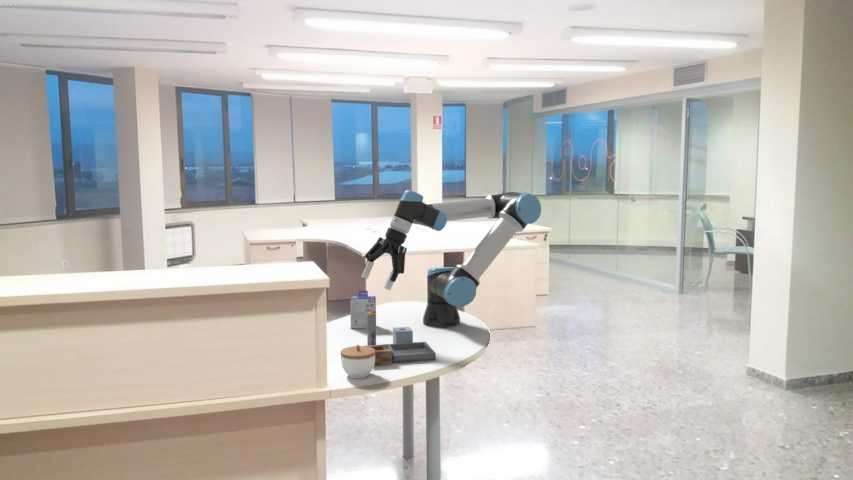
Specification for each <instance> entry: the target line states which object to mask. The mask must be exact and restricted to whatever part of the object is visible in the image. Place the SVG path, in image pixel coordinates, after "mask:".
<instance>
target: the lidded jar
mask: <svg viewBox="0 0 853 480" xmlns="http://www.w3.org/2000/svg"><path fill="white" fill-rule="evenodd" d="M367 346H368V345H359V344H358V345H357V344H356V345H355V346H354V345H353V346H348V347H345V348H343V349H341V350H340V358H341V359H340V360H341V367H342V369H343V371H344V372H345V374H346V375H348V377H349V378H352V379H364V378H367V377H368V376H369V374H370V373H371V372H372V371H373V369H374V368H375V366H374V364H375V354H376V350H375V349H374V348H371V347H367Z"/></svg>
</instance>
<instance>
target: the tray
mask: <svg viewBox="0 0 853 480" xmlns="http://www.w3.org/2000/svg"><path fill="white" fill-rule="evenodd" d="M386 344H387V345H388V346H389V348H390V349H391V351H392V362H393V364H399V363H400V364H402V363H414V362H415V363H416V362H429V361H436V358H437V357H436V354H437V353H436V352H435V350H434V349H433V348H432V347H431V346H430V345H429V344H428V342H427V341H418V342H417V341H415V342H414V341H413V342H412V343H397V344H393V343H386Z"/></svg>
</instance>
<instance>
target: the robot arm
mask: <svg viewBox="0 0 853 480" xmlns="http://www.w3.org/2000/svg"><path fill="white" fill-rule="evenodd" d="M423 201H424V196H423V195H422V194H420V193H418V192H416V191H413V190H410V189H406V190H405V191H404V192H403V194H402V196H401V197H400V200H399V201H398V202H399V203H398V205H397V208H396V210H395V212H394V215H393V216H392V219H391V222H390V223H389V227H388V228H387V231H386V233H385V234H384V235H385V236H384V237H385V239H384V238H383V237H380V236H379V237H378V238H377V241H376V242H375V243H374V244H373V246H371V248H370V249H369V250H368V251H367V252H366V253H365V255H364V258H365V259H366V263H365V265H364V267H363V271H362V274H361V278H363V279H366V280H368V279H369V276H370V274H371V271H372V270H373V267H374V265H375V261H376V260H377V259H380V257H382V256H383V255H384V254H387V255H390V256H391V263H392V265H391V266H392V269H391V271H390V273H389V275H388V278H387V279H386V282H385V284H384V287H383V289H386V290H388V291H391V289H392V287H393V285H394V283H395V282H396V280H397V279H398V276H399V275H400V274H401V275H402V274H405V264H406V253H407V251H408V250H407V249H408V248H407V247H405V246H403V244H405V242H406V239H407V237H408V236H407V234H409V233H410V230H411V228H412V226H413V224H414V225H420V226H424V227H427V228H430V229H431V230H433V231H436V232H440V231H442V230H444V228H445V227H446V224H447V222H451V221H459V220H469V219H479V218H488V220H489V219H490V220H493V219H498V220H497V221H496V222H495V224H494V225H493V226H491V228H490V229H489V231H488V232H487V233H486V235H484V237H483V238H482V240H480V242H479V243H478V244H477V246H476V247H475V248H474V249H473V250H472V251H471V253H470V254H469V255H468V257H467V258H466V259H465V260H464V262H463V263H462V264H461V263H460V264H456V265H455V266H442V267H440V266H439V267H431V268H429V269H428V270H427V275H426V280H427V281H426V283H427V284H426V286H427V287H426V290H427V292H426V293H427V298H426V299H427V303H426V308H425V311H424V314H423V317H422V323H423V325H425V326H429V327H434V328H452V327H456V326H459V325H460V323H461V317H460V313H459V311H458V307H460V308H461V307H466V306H468V305H469V304H471V303H472V302H473V301H474V299H475V298H476V295H477V288H478V287H479V286H480V284H481V283H480V278H481V276H482V275H483V274H484V273H485V272H486V271H487V270H488V268H489V267H490V265H491V264H492V263H493V261H495V260H496V258H497V257H498V255H499V254H500V253H501V252H502V251H503V250H504V248H505V247H506V246H507V244H508V243H509V242H510V241H511V239H512V238H513V237H514V236H515V234H516V233H520V232H523V231H524V230H525V228H526V227H527V225H528V224H529V225H530V224H533V223H536V222H537V221H538V219H540V216H541V213H542V205H541V201H540V199H539V198H538V197H537V196H536V195H534V194H531V193H529V192H515V191H508V192H503V193H498V194H490V195H486V197H485V198H477V199H476V198H474V199H467V200H456V201H445V202H437V203H429V204H427V203H425V202H423Z"/></svg>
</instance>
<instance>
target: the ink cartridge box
mask: <svg viewBox="0 0 853 480" xmlns="http://www.w3.org/2000/svg"><path fill="white" fill-rule="evenodd" d="M364 293H365V294H364ZM349 301H350V329H367V312H368V311H376V312H377V305H376V304H377V303H376V302H377V301H376V295H369V291H368V290H358V295H357V296H355V295H354V296H351V298H350V299H349Z"/></svg>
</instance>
